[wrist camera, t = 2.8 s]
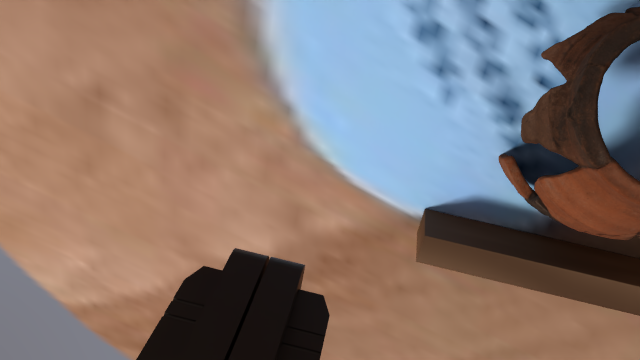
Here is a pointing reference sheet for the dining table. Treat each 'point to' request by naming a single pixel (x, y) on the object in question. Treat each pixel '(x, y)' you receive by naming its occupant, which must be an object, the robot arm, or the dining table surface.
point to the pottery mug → (582, 136)
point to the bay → (529, 261)
